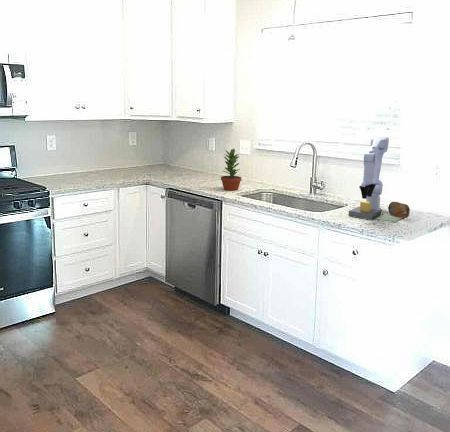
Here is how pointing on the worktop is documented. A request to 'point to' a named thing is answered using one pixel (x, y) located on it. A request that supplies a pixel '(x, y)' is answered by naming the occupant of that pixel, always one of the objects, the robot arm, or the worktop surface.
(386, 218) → the mat
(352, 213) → the square hole plate
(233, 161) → the potted plant
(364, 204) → the plug
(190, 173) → the worktop surface
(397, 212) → the tin
